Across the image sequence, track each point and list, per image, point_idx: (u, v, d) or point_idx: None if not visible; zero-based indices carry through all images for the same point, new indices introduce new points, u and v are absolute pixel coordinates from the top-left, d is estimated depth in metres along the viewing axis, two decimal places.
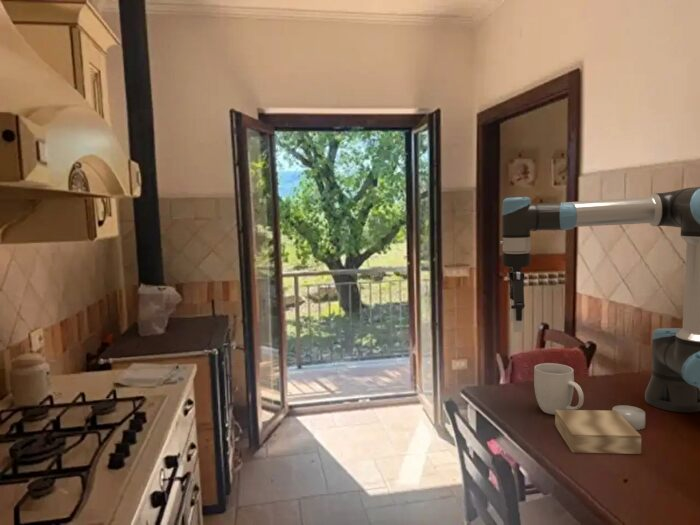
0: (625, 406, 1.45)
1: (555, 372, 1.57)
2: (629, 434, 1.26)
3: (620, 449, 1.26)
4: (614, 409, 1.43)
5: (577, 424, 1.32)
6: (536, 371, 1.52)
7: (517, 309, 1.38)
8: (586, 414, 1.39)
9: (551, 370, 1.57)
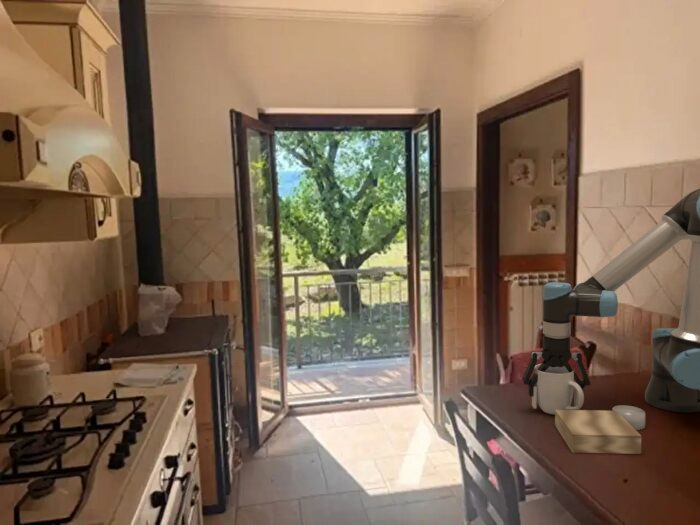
0: (625, 406, 1.45)
1: (555, 372, 1.57)
2: (629, 434, 1.26)
3: (620, 449, 1.26)
4: (614, 409, 1.43)
5: (577, 424, 1.32)
6: (536, 371, 1.52)
7: (528, 385, 1.53)
8: (586, 414, 1.39)
9: (551, 370, 1.57)
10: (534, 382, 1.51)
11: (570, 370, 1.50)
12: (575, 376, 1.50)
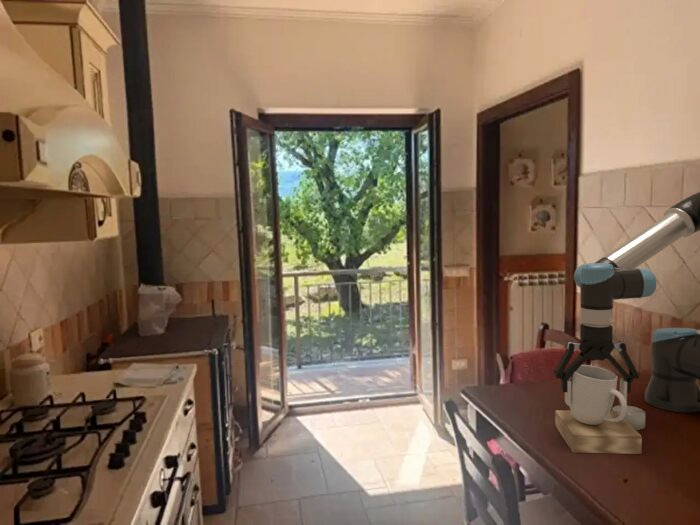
0: None
1: (593, 376, 1.37)
2: (629, 434, 1.26)
3: (620, 449, 1.26)
4: (614, 409, 1.43)
5: (577, 425, 1.32)
6: (574, 373, 1.32)
7: None
8: None
9: (589, 373, 1.37)
10: (568, 376, 1.32)
11: (614, 363, 1.31)
12: (620, 369, 1.30)
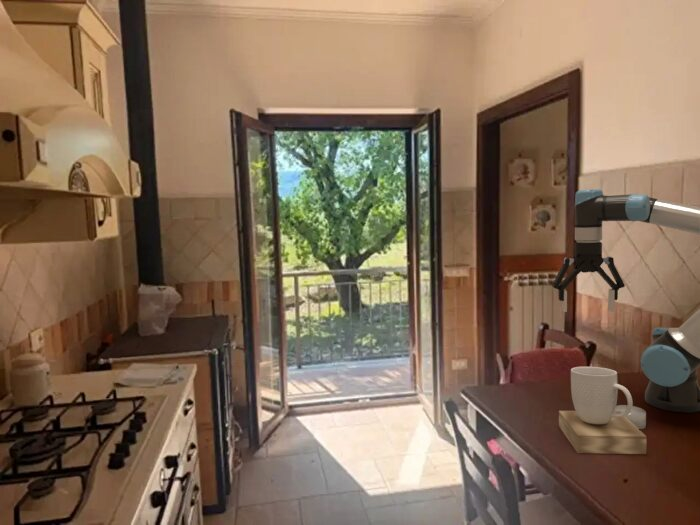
0: (625, 406, 1.45)
1: None
2: (634, 435, 1.26)
3: (625, 450, 1.26)
4: (615, 409, 1.43)
5: (581, 425, 1.32)
6: (575, 374, 1.33)
7: (558, 290, 1.57)
8: None
9: (587, 374, 1.39)
10: (564, 286, 1.55)
11: (603, 274, 1.54)
12: (609, 279, 1.54)
